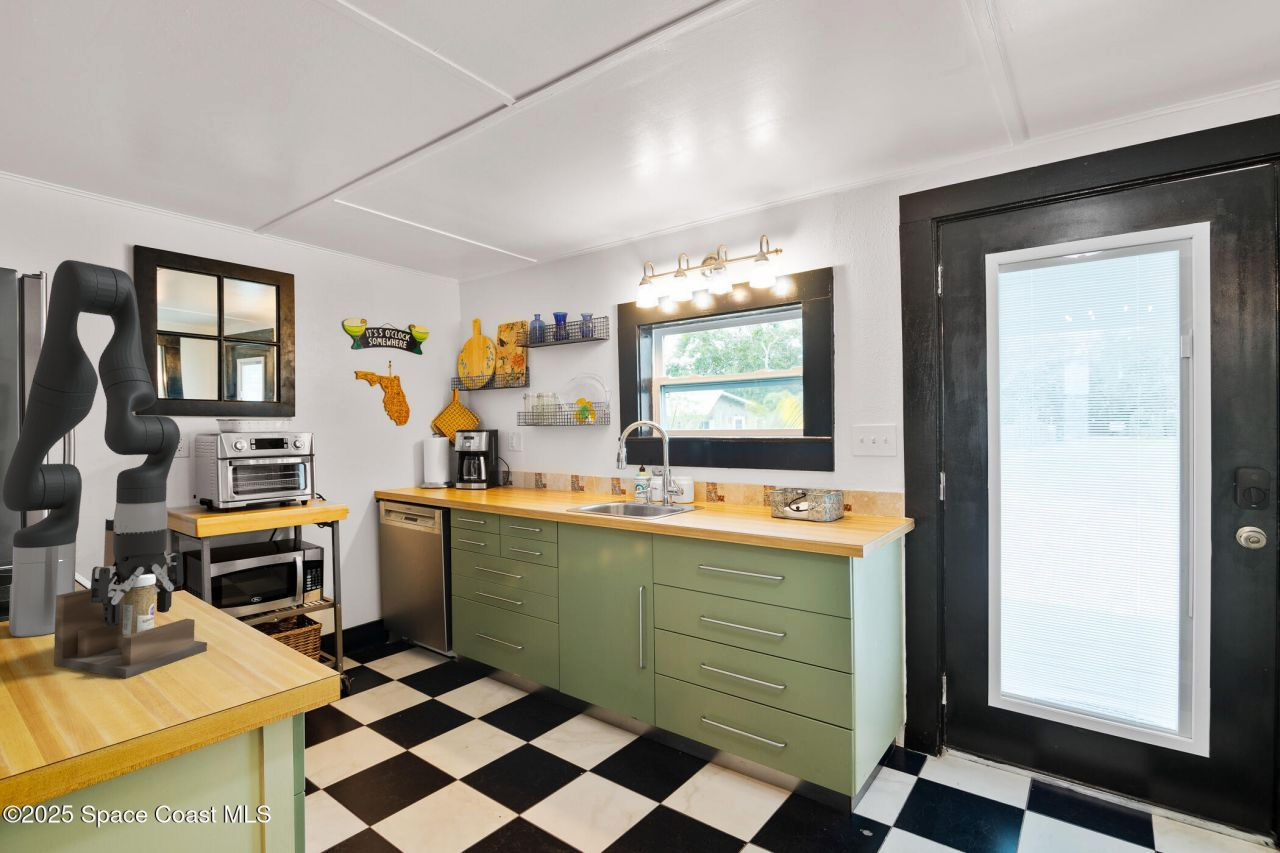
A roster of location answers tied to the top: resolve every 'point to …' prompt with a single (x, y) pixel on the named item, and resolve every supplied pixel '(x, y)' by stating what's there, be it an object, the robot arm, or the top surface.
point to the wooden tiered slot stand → (115, 640)
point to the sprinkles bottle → (139, 605)
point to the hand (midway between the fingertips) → (138, 618)
